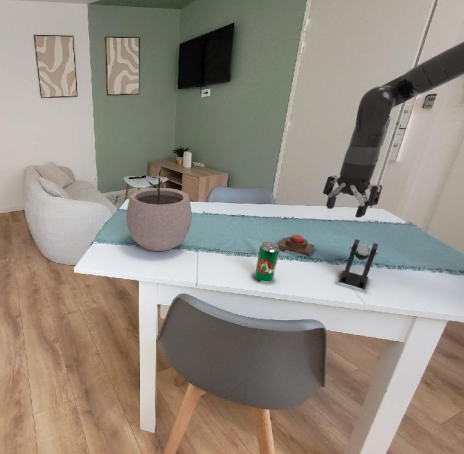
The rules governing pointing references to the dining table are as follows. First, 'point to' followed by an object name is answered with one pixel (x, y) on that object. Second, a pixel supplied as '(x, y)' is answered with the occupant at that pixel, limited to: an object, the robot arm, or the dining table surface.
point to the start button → (297, 238)
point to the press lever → (362, 252)
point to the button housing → (295, 246)
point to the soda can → (266, 261)
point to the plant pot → (159, 217)
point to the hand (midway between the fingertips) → (343, 212)
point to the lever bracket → (358, 279)
